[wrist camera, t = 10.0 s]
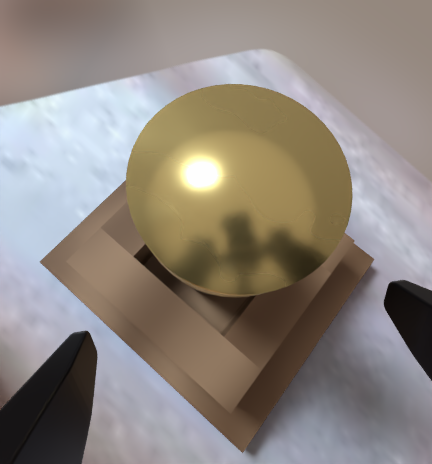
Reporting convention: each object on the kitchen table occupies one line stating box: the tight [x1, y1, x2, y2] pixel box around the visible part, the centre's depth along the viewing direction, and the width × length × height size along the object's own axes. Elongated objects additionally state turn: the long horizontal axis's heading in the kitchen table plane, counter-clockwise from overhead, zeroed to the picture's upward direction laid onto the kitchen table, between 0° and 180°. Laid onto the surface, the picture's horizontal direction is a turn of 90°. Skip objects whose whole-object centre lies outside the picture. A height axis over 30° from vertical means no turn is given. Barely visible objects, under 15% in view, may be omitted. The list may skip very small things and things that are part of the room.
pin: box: [126, 84, 352, 297], centre depth 13 cm, size 5×5×12 cm
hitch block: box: [40, 181, 374, 453], centre depth 18 cm, size 16×14×4 cm
